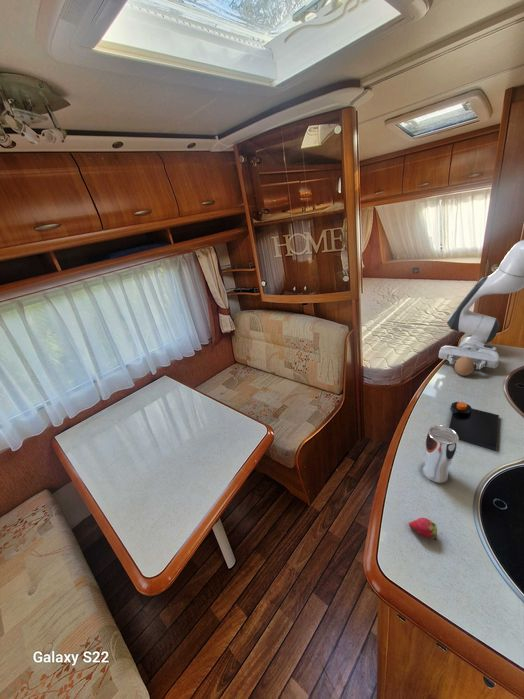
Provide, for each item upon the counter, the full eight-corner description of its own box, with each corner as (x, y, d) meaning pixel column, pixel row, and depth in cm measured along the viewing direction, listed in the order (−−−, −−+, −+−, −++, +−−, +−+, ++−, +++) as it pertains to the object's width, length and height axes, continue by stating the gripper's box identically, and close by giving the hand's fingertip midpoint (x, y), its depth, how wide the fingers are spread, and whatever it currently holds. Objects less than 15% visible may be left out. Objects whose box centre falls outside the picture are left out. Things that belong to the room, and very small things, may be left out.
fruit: (411, 517, 67) (413, 505, 65) (439, 532, 63) (442, 519, 61) (405, 532, 64) (407, 519, 62) (435, 548, 60) (438, 536, 58)
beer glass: (450, 468, 76) (460, 429, 70) (449, 488, 72) (459, 448, 65) (422, 459, 80) (428, 421, 74) (419, 478, 75) (425, 438, 69)
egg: (449, 372, 115) (452, 355, 111) (462, 368, 116) (465, 352, 112) (462, 380, 109) (466, 362, 105) (476, 376, 110) (480, 358, 106)
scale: (451, 406, 97) (452, 399, 96) (497, 418, 90) (500, 411, 88) (443, 435, 87) (445, 428, 86) (495, 451, 79) (498, 444, 78)
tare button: (456, 404, 94) (457, 400, 94) (466, 406, 93) (467, 403, 92) (455, 409, 92) (456, 405, 92) (465, 411, 91) (466, 408, 90)
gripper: (442, 339, 123) (435, 353, 115) (501, 348, 111) (498, 364, 102) (440, 352, 126) (433, 366, 117) (497, 361, 113) (494, 378, 105)
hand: (464, 365), depth 109 cm, fingers open, 7 cm apart
